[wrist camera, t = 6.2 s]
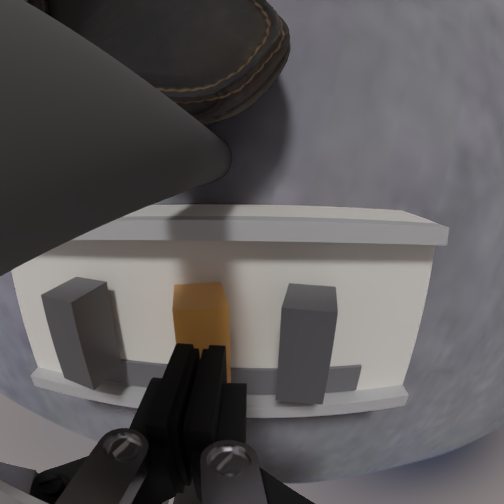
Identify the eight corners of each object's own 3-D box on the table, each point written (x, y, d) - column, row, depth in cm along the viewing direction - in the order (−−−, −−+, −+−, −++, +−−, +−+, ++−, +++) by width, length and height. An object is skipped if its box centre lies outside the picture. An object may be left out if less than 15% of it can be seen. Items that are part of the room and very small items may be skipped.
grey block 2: (335, 286, 13) (337, 312, 11) (324, 370, 14) (322, 404, 12) (288, 283, 13) (281, 307, 11) (283, 366, 14) (275, 400, 12)
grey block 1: (106, 281, 13) (71, 302, 11) (121, 362, 14) (94, 390, 12) (76, 276, 13) (40, 294, 11) (92, 353, 15) (64, 378, 12)
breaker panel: (402, 210, 17) (449, 227, 12) (378, 358, 19) (404, 405, 14) (43, 209, 17) (-8, 225, 12) (68, 346, 19) (34, 385, 14)
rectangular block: (221, 282, 13) (229, 306, 11) (223, 366, 14) (231, 399, 12) (174, 284, 13) (172, 310, 11) (182, 368, 14) (184, 402, 12)
